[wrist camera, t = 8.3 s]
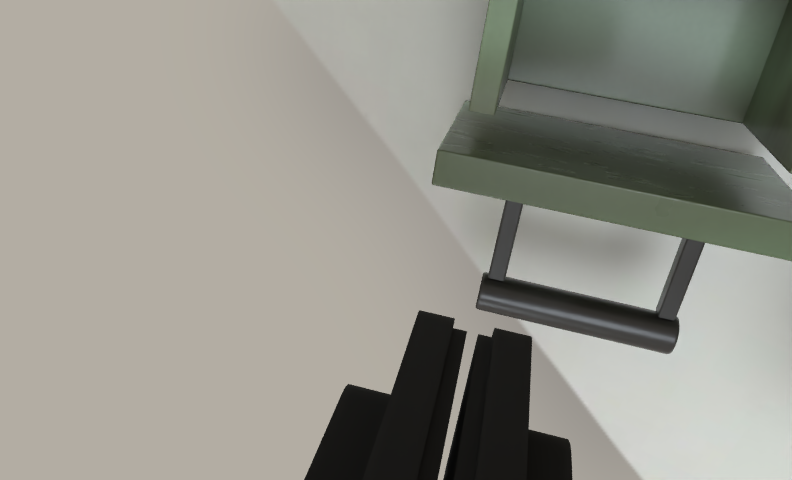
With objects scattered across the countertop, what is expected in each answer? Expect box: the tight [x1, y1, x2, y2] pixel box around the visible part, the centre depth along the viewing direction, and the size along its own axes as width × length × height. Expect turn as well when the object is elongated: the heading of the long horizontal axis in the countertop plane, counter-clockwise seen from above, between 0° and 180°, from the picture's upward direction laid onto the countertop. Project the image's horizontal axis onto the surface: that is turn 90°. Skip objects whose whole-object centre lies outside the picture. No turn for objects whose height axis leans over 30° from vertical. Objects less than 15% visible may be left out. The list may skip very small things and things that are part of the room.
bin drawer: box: [432, 0, 792, 354], centre depth 21 cm, size 19×11×7 cm, turn 172°
